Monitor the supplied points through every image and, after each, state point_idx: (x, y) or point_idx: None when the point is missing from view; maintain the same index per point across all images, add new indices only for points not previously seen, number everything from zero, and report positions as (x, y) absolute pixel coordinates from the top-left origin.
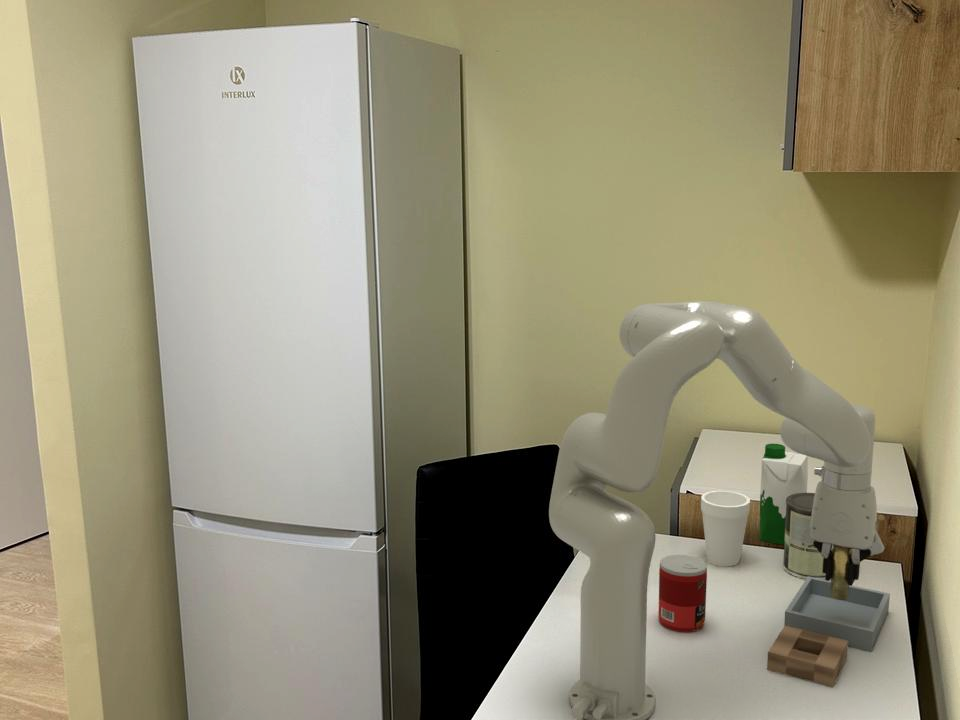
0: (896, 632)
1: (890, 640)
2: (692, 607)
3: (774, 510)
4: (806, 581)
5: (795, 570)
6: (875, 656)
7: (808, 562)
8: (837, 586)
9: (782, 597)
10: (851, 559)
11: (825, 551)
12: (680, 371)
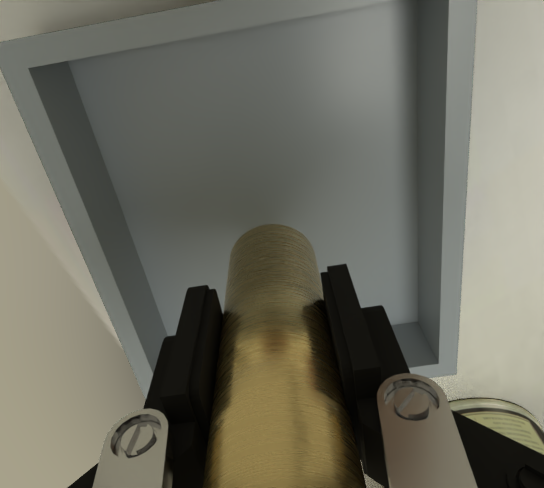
0: (73, 254)
1: (51, 185)
2: None
3: None
4: (451, 334)
5: (503, 417)
6: (6, 2)
7: None
8: (270, 261)
9: (504, 253)
10: (188, 444)
11: (417, 429)
12: None
